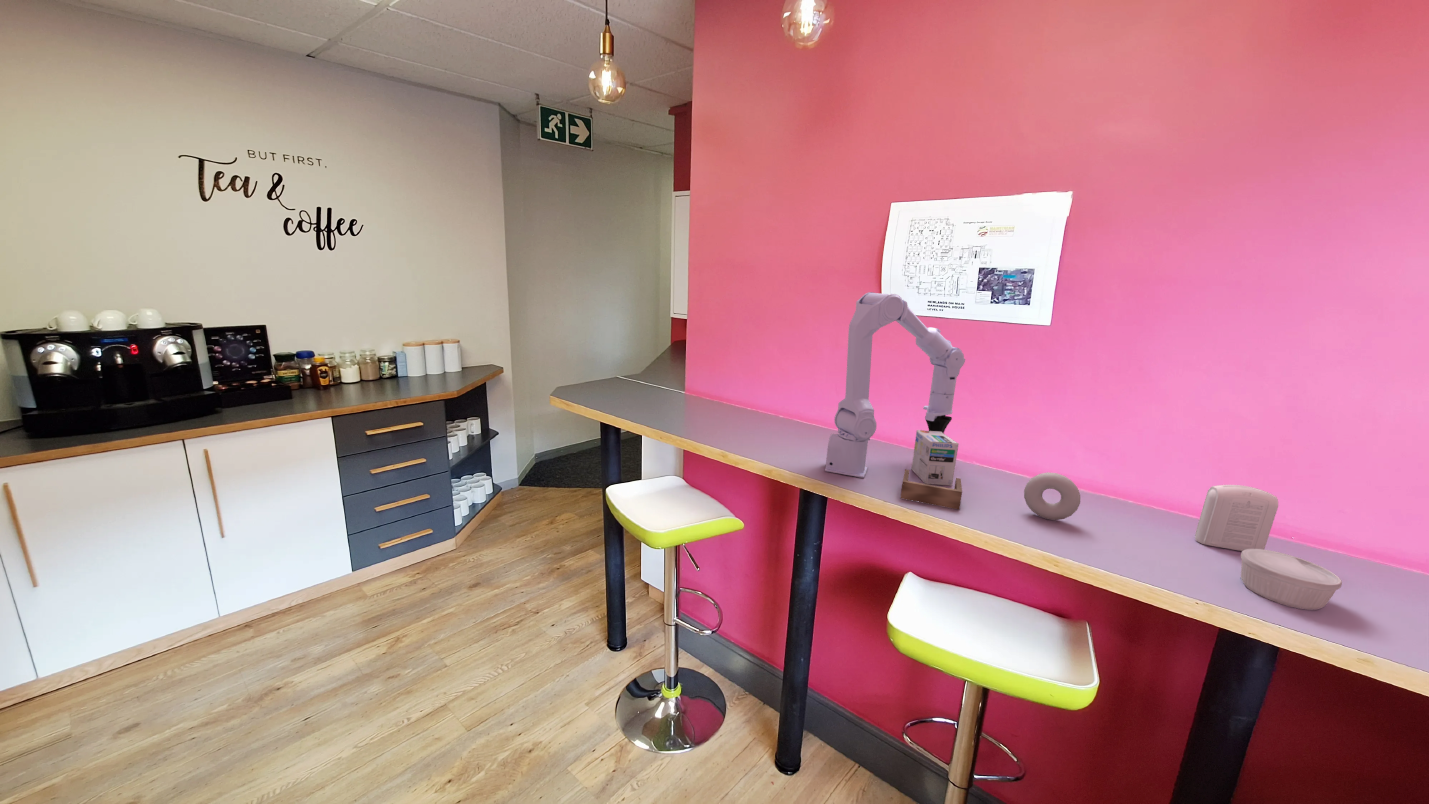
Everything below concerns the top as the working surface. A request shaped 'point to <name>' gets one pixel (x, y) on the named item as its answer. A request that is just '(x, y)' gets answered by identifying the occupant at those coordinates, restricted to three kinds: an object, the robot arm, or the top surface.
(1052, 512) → the donut
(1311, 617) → the top surface
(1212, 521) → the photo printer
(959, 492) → the walnut sleeve
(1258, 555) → the ramekin
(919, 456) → the light bulb box
